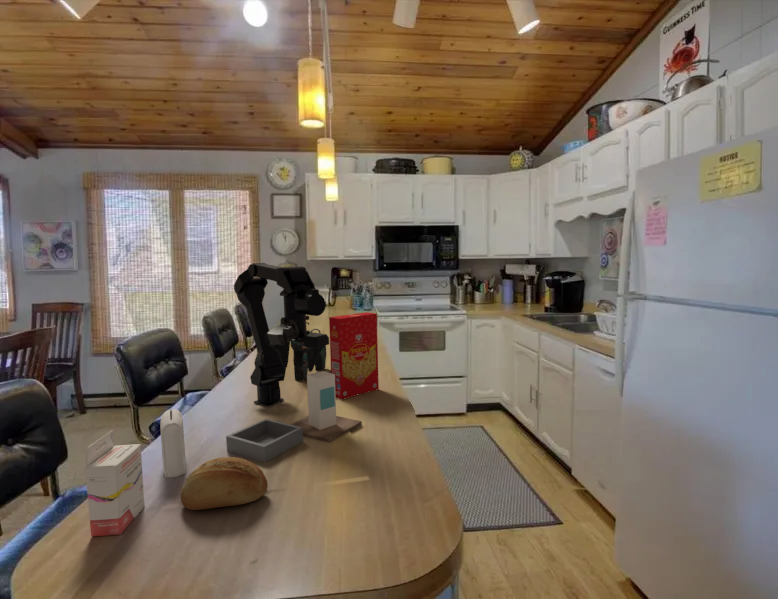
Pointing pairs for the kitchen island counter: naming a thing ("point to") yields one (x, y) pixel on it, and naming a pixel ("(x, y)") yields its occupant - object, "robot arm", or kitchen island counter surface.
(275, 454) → the tub
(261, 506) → the kitchen island counter surface
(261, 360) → the robot arm
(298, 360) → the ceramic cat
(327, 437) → the board
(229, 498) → the bread roll
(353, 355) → the food packaging
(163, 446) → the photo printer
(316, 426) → the carton
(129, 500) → the ink cartridge box
